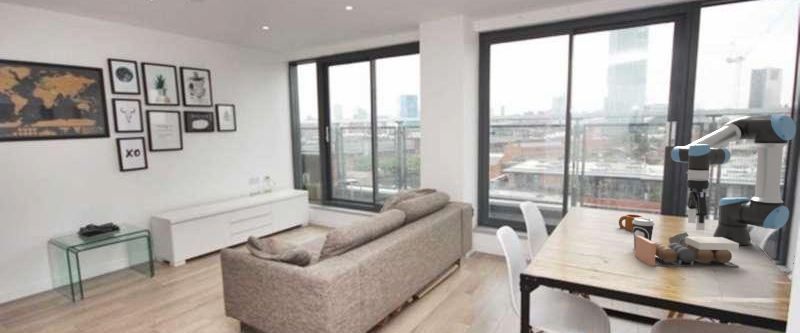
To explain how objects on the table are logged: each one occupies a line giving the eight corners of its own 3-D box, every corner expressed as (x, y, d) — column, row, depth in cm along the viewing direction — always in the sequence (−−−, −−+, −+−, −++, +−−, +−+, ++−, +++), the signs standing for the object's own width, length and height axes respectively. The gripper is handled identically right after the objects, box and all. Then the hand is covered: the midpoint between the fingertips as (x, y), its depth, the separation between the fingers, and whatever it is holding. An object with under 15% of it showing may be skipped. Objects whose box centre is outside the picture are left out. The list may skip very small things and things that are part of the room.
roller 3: (683, 255, 182) (684, 242, 182) (697, 255, 182) (698, 243, 181) (698, 262, 173) (699, 249, 172) (712, 263, 172) (714, 249, 172)
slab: (721, 243, 181) (722, 237, 180) (738, 250, 171) (739, 243, 170) (684, 242, 182) (685, 236, 182) (699, 249, 172) (699, 242, 172)
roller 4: (701, 255, 182) (702, 242, 181) (714, 255, 181) (715, 243, 181) (716, 262, 172) (717, 249, 171) (731, 263, 171) (732, 249, 171)
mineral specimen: (666, 247, 198) (667, 227, 197) (686, 249, 194) (687, 229, 193) (668, 252, 190) (669, 232, 189) (688, 255, 186) (690, 234, 185)
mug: (620, 227, 239) (621, 212, 238) (643, 230, 231) (644, 215, 230) (617, 230, 232) (617, 215, 231) (640, 233, 224) (641, 218, 223)
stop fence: (639, 256, 186) (640, 235, 185) (654, 265, 173) (655, 243, 172) (634, 256, 186) (635, 235, 185) (650, 265, 173) (651, 243, 172)
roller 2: (666, 255, 183) (667, 242, 183) (680, 255, 183) (681, 243, 182) (680, 262, 173) (681, 249, 173) (694, 262, 173) (695, 249, 172)
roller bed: (715, 256, 183) (715, 253, 183) (738, 267, 169) (738, 263, 169) (638, 255, 186) (638, 252, 186) (655, 266, 172) (655, 262, 172)
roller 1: (650, 255, 184) (650, 242, 183) (663, 255, 183) (664, 242, 183) (662, 262, 174) (663, 249, 173) (676, 262, 173) (677, 249, 173)
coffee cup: (656, 252, 191) (658, 222, 189) (635, 251, 193) (636, 221, 191) (648, 246, 200) (649, 217, 199) (628, 245, 202) (629, 217, 201)
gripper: (681, 175, 187) (679, 219, 189) (695, 183, 164) (693, 232, 166) (700, 176, 184) (698, 220, 186) (717, 183, 161) (715, 234, 163)
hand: (695, 226), depth 176 cm, fingers open, 13 cm apart
